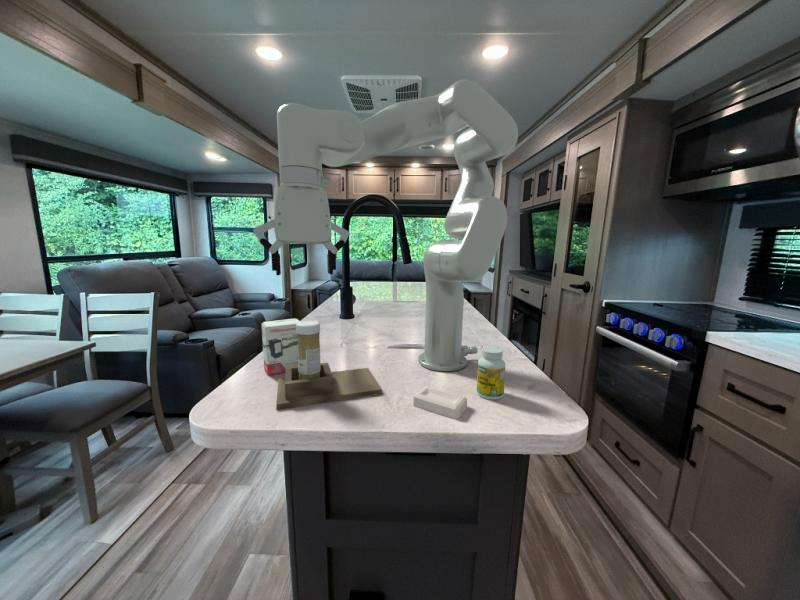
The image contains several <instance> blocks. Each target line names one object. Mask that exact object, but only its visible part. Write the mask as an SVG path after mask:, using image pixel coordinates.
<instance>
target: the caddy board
mask: <svg viewBox="0 0 800 600" xmlns="http://www.w3.org/2000/svg"><path fill="white" fill-rule="evenodd" d="M320 367H321V370H320V377H319V378H311V379H302V380H299V371H298V366H290V367H285V372H284V377H278V378H277V379H278V380H277V393H276V402H275V403H276V404H275V405H276V406H275V407H276V408H275V409H276V410H282V409H283V410H284V409H291V408H296V407H303V406H310V405H315V404H317V405H318V404H324V403H329V402H336V401H342V400H348V399H349V400H351V399H356V398H363V397H369V396H370V397H371V396H376V395H382V394H383V388H382V387H381V385H380V384H379V382H378V381H377V379H376V378H375V376H374V375H373V372H371V370H370V369H369V367H364V368H355V369H348V370H347V369H345V370H338V371H331V368H330V364H329V362H320Z"/></svg>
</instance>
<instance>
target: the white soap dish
mask: <svg viewBox="0 0 800 600" xmlns="http://www.w3.org/2000/svg"><path fill="white" fill-rule="evenodd" d="M412 405H413V406H414V407H416V408H420V409H423V410H426V411H430V412H432V413H436V414H439V415H442V416H445V417H448V418H451V419H454V420H456V419H459V418H460V417H461V415H462V414H463V413H464V412H465V411H466V409H467V407H468V398H467V397H466V396H463V395H459V394H456V393H452V392H449V391H444V390H441V389H437V388H434V387H430V386H427V385H426V386H424V387H422V388H420V390H419V391H417V392H415V393H414V394H413V396H412Z"/></svg>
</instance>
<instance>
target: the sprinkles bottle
mask: <svg viewBox="0 0 800 600" xmlns="http://www.w3.org/2000/svg"><path fill="white" fill-rule="evenodd" d="M296 332H297V335H298V371H299V380H302V379H311V378H319V377H320V370H321V367H320V363H321V345H320V343H321V342H320V334H321V333H320V332H321V324H320V322H319V321H316V320H303V321H300V322H299V323H297V324H296Z"/></svg>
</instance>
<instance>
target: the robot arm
mask: <svg viewBox="0 0 800 600" xmlns="http://www.w3.org/2000/svg"><path fill="white" fill-rule="evenodd" d="M276 125H277V126H276V130H277V146H278V147H277V149H278V150H277V151H278V168H279V186H276V188H275V194H274V195H275V196H274V206H273V207H274V213H273V215H274V216H273V219H271V220H269V221H267V222H265V223H262V224H261V225H258V226H256V227H254V228H253V229H252V231H253V233H254V235H255V237H256V238H257V240H258V242H259V244H260V245H261V246H262V247H264V249H266V250H267V251H268V252H269V253H270V254H271V256H270V257H271V270H272V271H273V272H275V275H276V276H280V275H281V274H282V270H281V254H280V253H279V250H280V248H282V246H283V245H284V244H290V245H291V244H297V245H323V246H324V247H325V248H326V249H327V250H328V253H327V254H326V257H327V258H326V259H327V260H326V263H327V274H328V275H334V271H337V257H336V256H337V255H336V254H338V252H339V251H340V250H341V249H342V248H343V247H344V246H345V243H346V242H347V240H348V238H349V236H350V232H349V231H348V230H347V229H345V228H343V227H341V226H340V225H338V224H336V223H334V222H332V221H331V213H330V212H331V211H330V205H329V198H328V194H327V191H326V190H325V189H324V187H326V186H330V185H331V178H330V177H327V176H325V175H324V174H323V166H322V165H325V166H327V167H330V168H337V167H343V166H347V165H351V164H355V163H358V162H359V163H360V162H361V161H365V160H369V159H372V158H375V157H378V156H382V155H385V154H390V153H394V152H397V151H399V150H402V149H405V148H408V147H412V146H416V145H420V144H424V143H428V142H432V141H437V140H440V139H443V138H448V137H449V136H451V135H454V134H455V133H458V132H459V131H462V130H463V129H465V128H467V127H469V128H468V129H466V130H464V131H463V132H462V133H460V134H459V135H458V137H457V138H456V140H454V141H455V142H454V146H453V155H454V158H455V162H456V164H457V166H458V169H459V173H460V183H459V186H458V189H457V192H456V194H455V196H454V199H453V201H452V202H451V204H450V207H449V210H448V212H447V213H446V214H447V215H446V217H445V220H444V230H445V232H446V234H447V235H448V236H449V237H450V238H452V239H442V240H438V241H434V242H433V243H431V244H430V245H429V246H428V247H427V249H426V250H425V252H424V255H423V259H422V261H423V262H422V263H423V265H422V266H423V272H424V278H425V318H424V320H425V321H424V350H423V351H424V352H422V353H420V354H419V355H418V363H419V364H420V365H421V366H422V367H424V368H426V369H429V370H433V371H439V372H454V371H460V370H462V369H464V368H465V367H466V366H467V364H468V359H467V358H466V356H468V355H476V354H478V351H479V349H478V347H477V346H470V347H468V345H467V344H465V345H462V343H463V324H464V323H463V319H464V305H465V304H464V303H465V302H464V301H465V296H464V295H465V294H464V289H463V285H462V282H468V283H470V282H471V283H472V282H473V283H474V282H477V281H479V280H481V279H482V278H483V277H484V276H485V275H486V274H487V272H488V270H489V269H490V268H491V265H492V263H493V261H494V258H495V255H496V253H497V251H498V249H499V246H500V244H501V243H502V239H503V236H504V234H505V232H506V229H507V224H508V211H507V207H506V205H505V203H504V201H502V200H501V199H500V198H499V197H496V196H493V192H494V190H495V189H494V187H495V185H494V179H493V177H492V175H491V172H490V170H489V168H488V165H487V163H486V162H489V161H491V160H495V159H498V158H501V157H504V156H505V155H508V154H509V153H511V151H513V150H514V148H515V147H516V145H517V143H518V139H519V130H518V129H519V128H518V126H517V122H516V121H515V120H514V118H513V116H512V115H511V114H510V113H509V112H508V111H507V110H506V109H505V108H504V107H503V106H502V105H501V104H500V103H499V102H498V101H497V100H496V99H495V98H494V97H493V96H492V95H490V93H489V92H488V91H486V90H485V89H484V88H483V87H481V86H480V85H479V84H478V83H476V82H474V81H471V80H469V79H459V80H457V81H455V82H454V83H453V84H451V85H450V86H449V87H446V89H444V90H443V91H442V92H440V93H438V94H436V95H435V94H434V95H431V96H426V97H420V98H417V99H416V98H415V99H408V100H402V101H397V102H393V103H392V104H390V105H388V106H386V107H384V108H383V109H381V110H380V111H378V112H377V113H375V114H373V115H372V116H370V117H368V118H366V119H363V120H361V119H360V117H359V116H358V115H356V114H355V113H353V112H350V111H346V110H340V109H339V110H337V109H335V110H334V109H333V110H332V109H317V108H316V109H315V108H312V107H310V106H307V105H305V104H302V103H291V102H290V103H285V104H283V105H281V106H280V107H279V108H278V109H277V113H276ZM272 229H274V235H275V239H276V240H275V241H274V242H273V244H272V243H271V242H269V241H268V239H267V238H266V236H265V234H264V233H266V232H268V231H270V230H272ZM332 231H333V232H335V233H337V234H339V236H340V237H339V239H338V240H337V242H336V243H335V244H333V243H332V242H331V240H332Z"/></svg>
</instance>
